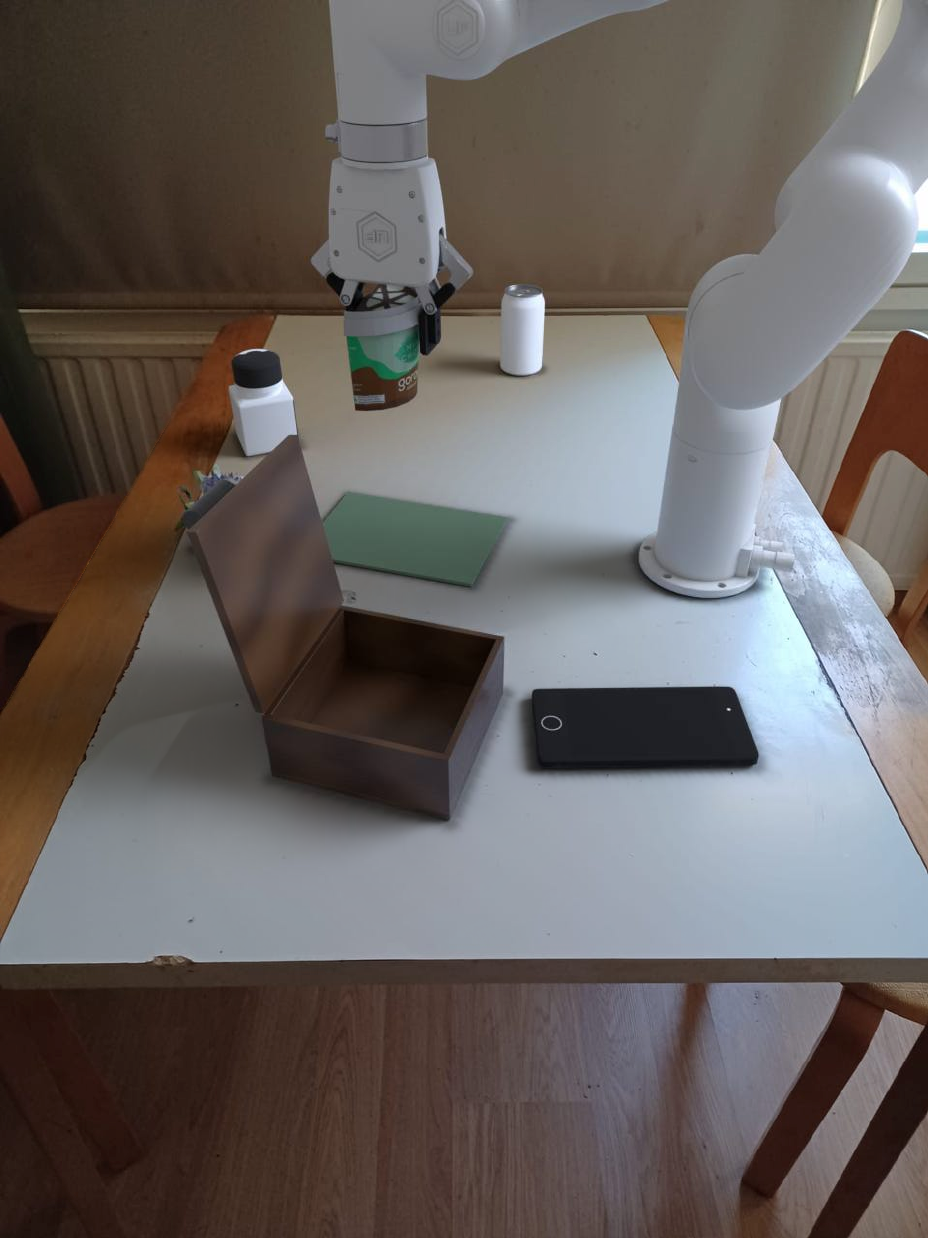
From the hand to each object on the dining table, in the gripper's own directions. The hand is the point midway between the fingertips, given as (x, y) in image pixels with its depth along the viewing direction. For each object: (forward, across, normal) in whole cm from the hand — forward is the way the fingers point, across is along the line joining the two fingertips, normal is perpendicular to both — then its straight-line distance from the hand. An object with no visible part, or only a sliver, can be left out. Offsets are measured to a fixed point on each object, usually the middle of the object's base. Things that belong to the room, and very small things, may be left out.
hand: (394, 344), depth 89 cm
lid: (+7, +2, -29) cm, 30 cm away
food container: (+5, 0, 0) cm, 5 cm away
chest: (+22, +10, -30) cm, 38 cm away
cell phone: (+22, +30, -23) cm, 44 cm away
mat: (+22, 0, 0) cm, 22 cm away
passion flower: (+22, -18, -8) cm, 30 cm away
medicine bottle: (+22, -26, +17) cm, 38 cm away
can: (+22, 0, +51) cm, 56 cm away
